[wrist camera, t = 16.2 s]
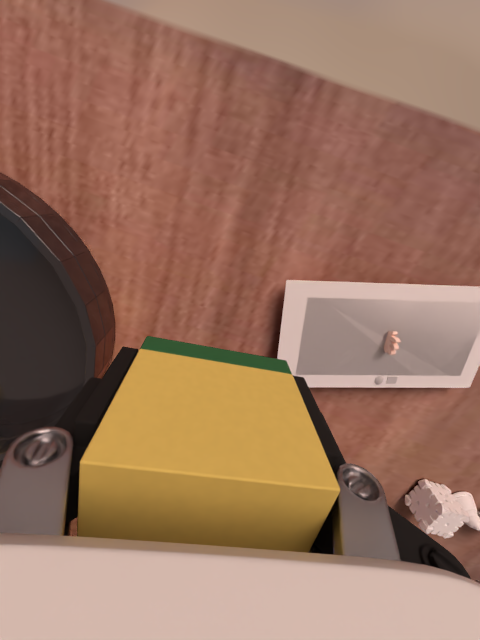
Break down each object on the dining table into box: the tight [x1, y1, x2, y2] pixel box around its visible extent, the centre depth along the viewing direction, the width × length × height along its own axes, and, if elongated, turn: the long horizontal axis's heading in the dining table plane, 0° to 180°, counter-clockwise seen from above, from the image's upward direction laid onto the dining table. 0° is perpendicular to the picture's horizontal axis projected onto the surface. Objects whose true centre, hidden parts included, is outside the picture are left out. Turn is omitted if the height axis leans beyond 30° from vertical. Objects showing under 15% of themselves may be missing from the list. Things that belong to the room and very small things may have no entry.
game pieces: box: [405, 479, 480, 538], centre depth 27 cm, size 12×3×3 cm, turn 65°
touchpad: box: [277, 280, 480, 388], centre depth 20 cm, size 8×15×2 cm, turn 87°
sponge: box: [77, 336, 340, 553], centre depth 9 cm, size 4×6×6 cm
